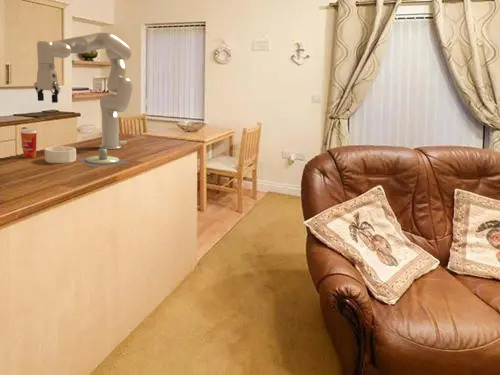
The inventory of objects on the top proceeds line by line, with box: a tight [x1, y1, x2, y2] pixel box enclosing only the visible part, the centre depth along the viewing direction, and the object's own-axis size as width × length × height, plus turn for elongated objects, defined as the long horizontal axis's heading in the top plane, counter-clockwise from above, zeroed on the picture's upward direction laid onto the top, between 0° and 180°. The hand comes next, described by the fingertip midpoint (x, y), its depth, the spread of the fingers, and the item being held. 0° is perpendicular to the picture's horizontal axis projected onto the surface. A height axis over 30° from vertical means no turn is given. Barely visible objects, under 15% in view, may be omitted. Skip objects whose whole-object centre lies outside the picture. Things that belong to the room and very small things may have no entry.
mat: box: [76, 155, 130, 168], centre depth 221 cm, size 20×20×1 cm
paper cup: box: [19, 128, 38, 159], centre depth 217 cm, size 8×8×14 cm
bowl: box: [43, 145, 77, 164], centre depth 215 cm, size 14×14×6 cm
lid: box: [85, 148, 120, 164], centre depth 220 cm, size 16×16×6 cm
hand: (47, 101), depth 221 cm, fingers open, 9 cm apart
